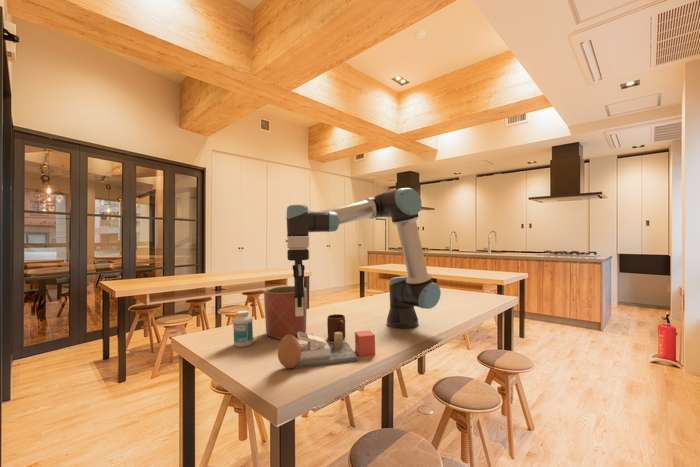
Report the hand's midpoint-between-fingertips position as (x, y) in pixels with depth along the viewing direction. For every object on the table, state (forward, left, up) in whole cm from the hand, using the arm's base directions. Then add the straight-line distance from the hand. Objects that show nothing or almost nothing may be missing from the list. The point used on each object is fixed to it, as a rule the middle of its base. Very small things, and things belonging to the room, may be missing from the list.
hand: (299, 315), depth 112 cm
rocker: (-4, 0, -9) cm, 10 cm away
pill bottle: (+21, -25, -16) cm, 36 cm away
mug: (-17, -18, -16) cm, 30 cm away
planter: (+3, -34, -16) cm, 38 cm away
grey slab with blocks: (-8, -2, -16) cm, 18 cm away
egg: (+4, +5, -16) cm, 17 cm away
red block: (-24, -1, -16) cm, 29 cm away
